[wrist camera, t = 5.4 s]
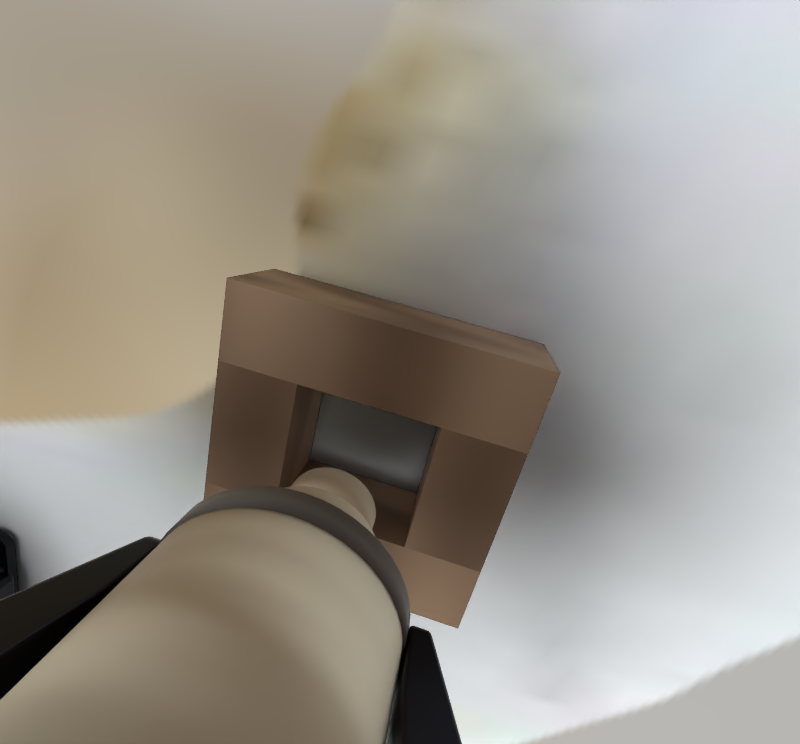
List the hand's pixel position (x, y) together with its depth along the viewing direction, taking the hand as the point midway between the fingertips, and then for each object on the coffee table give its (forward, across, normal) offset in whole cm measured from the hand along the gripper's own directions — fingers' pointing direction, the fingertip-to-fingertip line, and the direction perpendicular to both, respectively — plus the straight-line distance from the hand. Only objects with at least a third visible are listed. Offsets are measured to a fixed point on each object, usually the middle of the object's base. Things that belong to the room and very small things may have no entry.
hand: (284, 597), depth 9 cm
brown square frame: (+8, 0, 0) cm, 8 cm away
